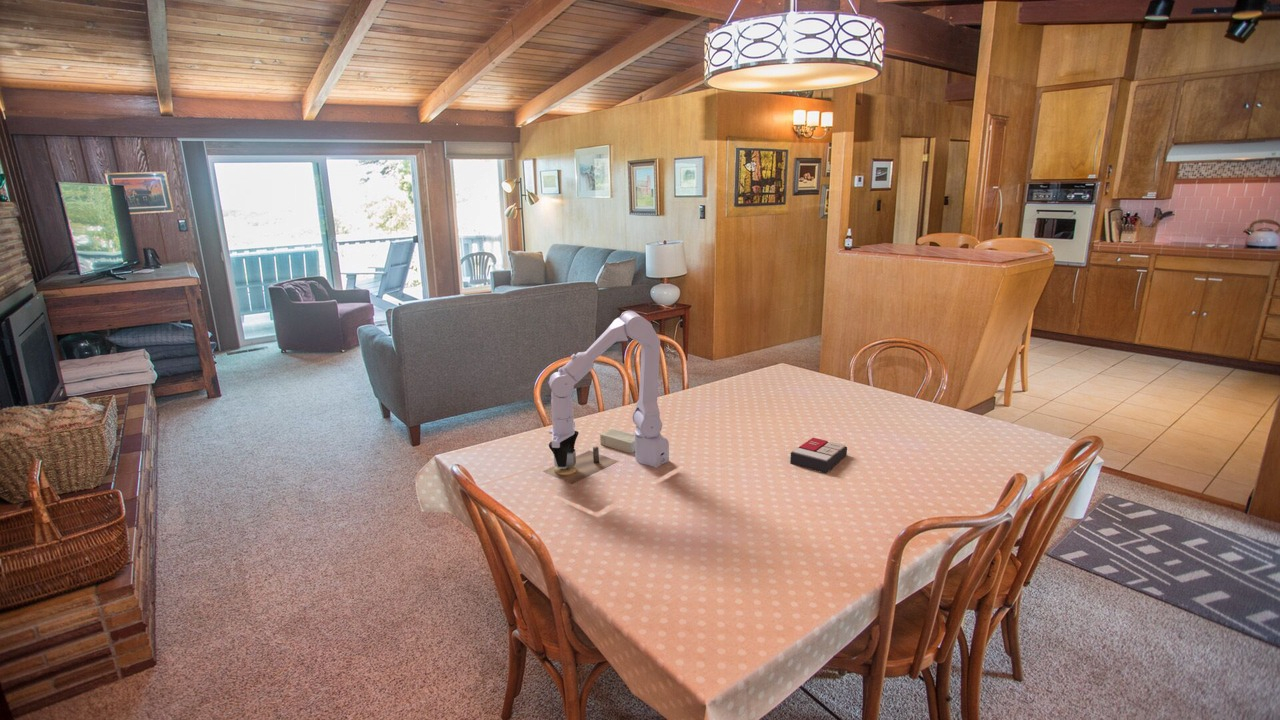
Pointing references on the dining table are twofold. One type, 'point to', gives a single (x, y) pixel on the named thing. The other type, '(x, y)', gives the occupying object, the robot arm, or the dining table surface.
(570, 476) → the board
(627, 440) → the skincare box
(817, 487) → the dining table surface
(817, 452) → the calculator
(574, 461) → the collar
